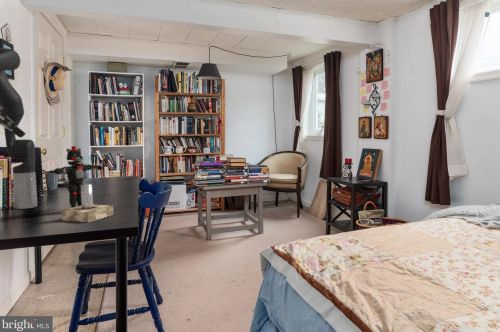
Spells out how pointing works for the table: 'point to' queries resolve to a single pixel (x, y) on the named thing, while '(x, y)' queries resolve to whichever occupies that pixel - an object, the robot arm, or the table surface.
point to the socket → (87, 213)
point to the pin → (86, 196)
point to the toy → (74, 174)
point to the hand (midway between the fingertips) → (22, 135)
